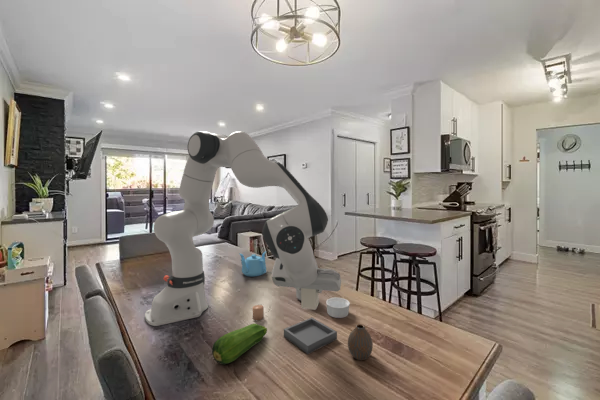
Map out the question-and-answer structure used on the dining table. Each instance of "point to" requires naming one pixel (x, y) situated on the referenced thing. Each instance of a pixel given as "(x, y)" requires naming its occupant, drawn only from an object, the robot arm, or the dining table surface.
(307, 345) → the tray
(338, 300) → the ramekin
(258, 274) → the teapot
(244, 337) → the vegetable
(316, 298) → the cream block
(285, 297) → the dining table surface
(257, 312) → the tan small cylinder
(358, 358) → the vase
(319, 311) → the dining table surface
